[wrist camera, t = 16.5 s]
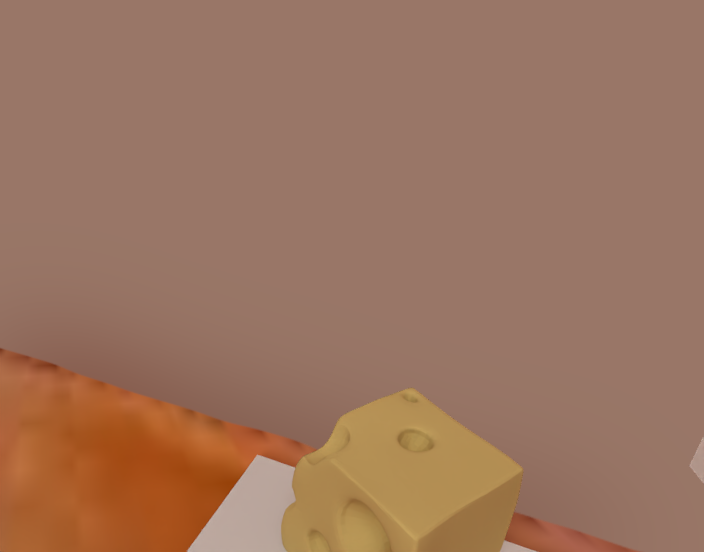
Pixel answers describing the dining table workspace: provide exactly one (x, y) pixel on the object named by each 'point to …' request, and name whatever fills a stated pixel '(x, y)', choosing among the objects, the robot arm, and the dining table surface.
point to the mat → (260, 513)
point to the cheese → (401, 484)
